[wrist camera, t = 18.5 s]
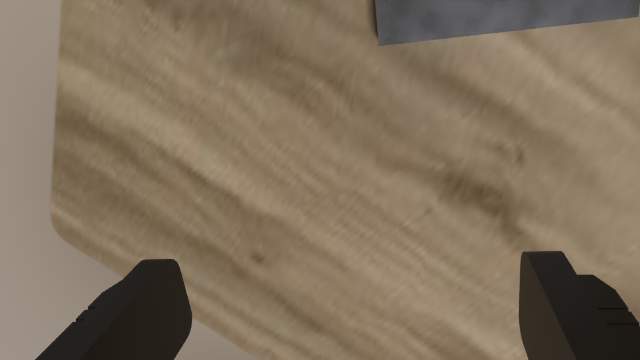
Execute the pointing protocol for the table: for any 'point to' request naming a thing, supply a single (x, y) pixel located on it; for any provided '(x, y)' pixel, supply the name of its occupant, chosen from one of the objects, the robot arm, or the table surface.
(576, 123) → the table surface
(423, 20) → the mounting plate
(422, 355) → the table surface
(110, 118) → the table surface
